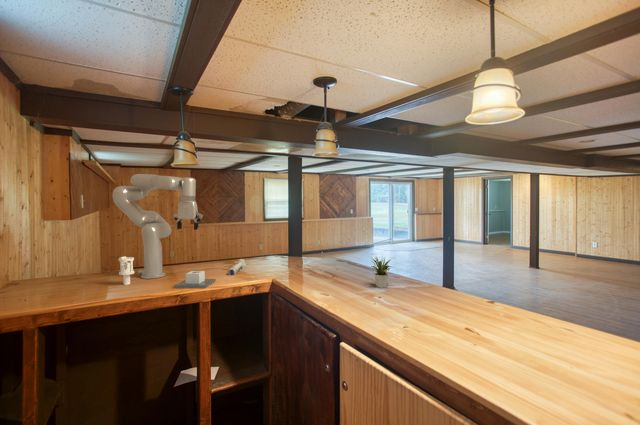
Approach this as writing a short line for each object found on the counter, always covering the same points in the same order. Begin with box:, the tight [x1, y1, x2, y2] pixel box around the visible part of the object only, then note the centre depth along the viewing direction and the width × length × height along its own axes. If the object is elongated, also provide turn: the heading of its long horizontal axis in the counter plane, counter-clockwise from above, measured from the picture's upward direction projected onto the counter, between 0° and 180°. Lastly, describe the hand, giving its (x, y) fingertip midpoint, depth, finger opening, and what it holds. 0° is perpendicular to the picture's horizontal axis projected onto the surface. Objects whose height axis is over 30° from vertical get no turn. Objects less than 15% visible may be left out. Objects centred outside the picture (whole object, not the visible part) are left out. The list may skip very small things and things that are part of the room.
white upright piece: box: [118, 255, 135, 286], centre depth 169 cm, size 7×7×15 cm
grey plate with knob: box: [173, 272, 217, 289], centre depth 166 cm, size 16×14×6 cm
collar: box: [185, 270, 206, 284], centre depth 166 cm, size 7×7×5 cm
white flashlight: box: [227, 258, 247, 276], centre depth 202 cm, size 5×7×25 cm
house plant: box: [367, 254, 394, 289], centre depth 160 cm, size 14×14×16 cm
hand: (187, 229), depth 181 cm, fingers open, 9 cm apart
